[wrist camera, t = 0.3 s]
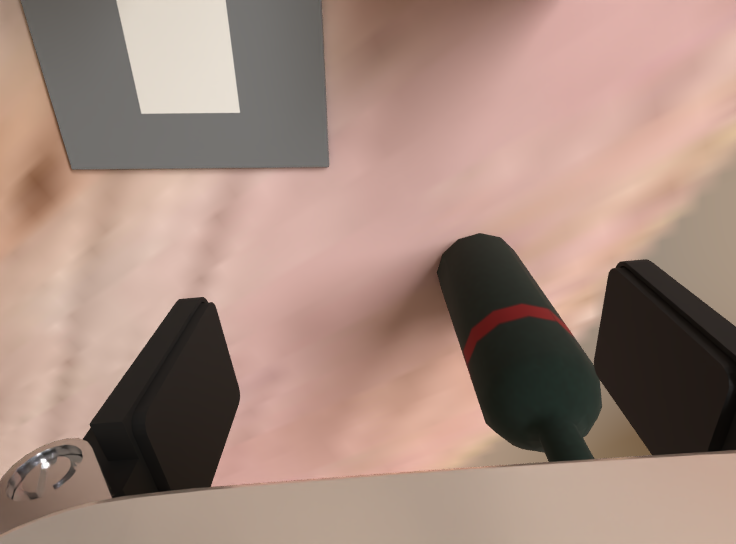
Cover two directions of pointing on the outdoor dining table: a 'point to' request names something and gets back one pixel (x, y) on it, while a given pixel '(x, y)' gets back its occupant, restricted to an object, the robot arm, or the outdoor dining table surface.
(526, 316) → the wine bottle
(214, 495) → the robot arm
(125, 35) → the rubber mat
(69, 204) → the outdoor dining table surface
